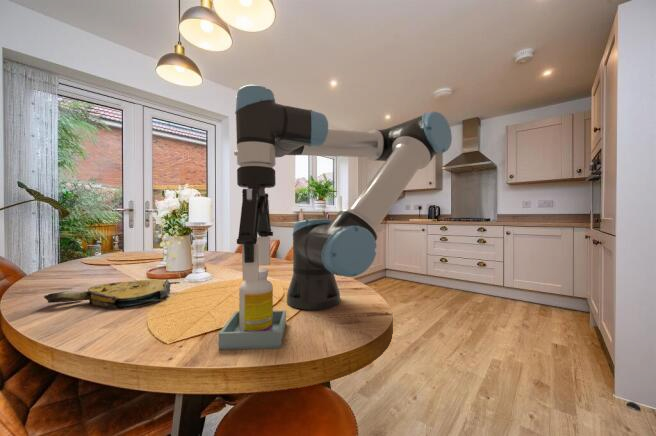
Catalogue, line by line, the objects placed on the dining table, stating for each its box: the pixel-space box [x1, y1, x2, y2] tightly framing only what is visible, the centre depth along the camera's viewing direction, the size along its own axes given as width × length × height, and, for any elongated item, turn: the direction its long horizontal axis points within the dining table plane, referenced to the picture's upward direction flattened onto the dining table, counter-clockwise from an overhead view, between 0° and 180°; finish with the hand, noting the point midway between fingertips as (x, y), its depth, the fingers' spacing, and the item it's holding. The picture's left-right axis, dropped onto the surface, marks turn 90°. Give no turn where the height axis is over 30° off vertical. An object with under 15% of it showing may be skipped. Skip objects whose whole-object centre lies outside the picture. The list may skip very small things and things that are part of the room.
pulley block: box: [43, 278, 181, 310], centre depth 75 cm, size 14×6×30 cm
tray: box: [218, 310, 287, 351], centre depth 55 cm, size 11×11×3 cm
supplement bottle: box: [238, 267, 274, 332], centre depth 55 cm, size 7×7×13 cm
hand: (258, 271), depth 55 cm, fingers open, 13 cm apart
